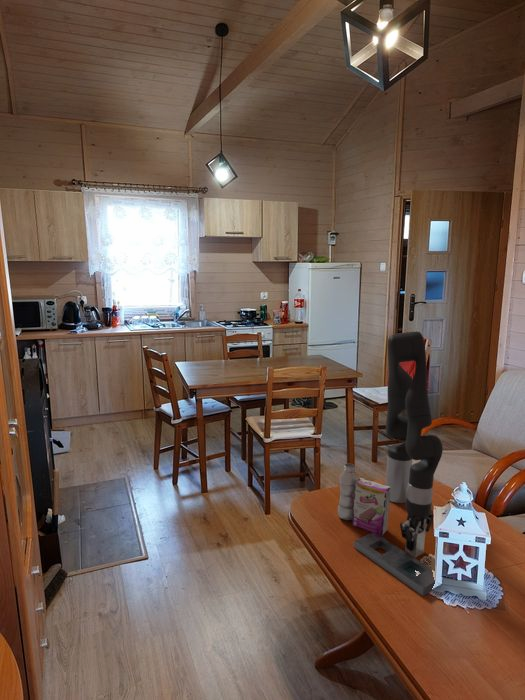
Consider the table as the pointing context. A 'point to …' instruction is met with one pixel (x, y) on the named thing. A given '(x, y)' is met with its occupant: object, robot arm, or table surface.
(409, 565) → the grey board with holes
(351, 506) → the plastic bottle
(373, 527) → the candy bar box
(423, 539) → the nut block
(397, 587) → the table surface
